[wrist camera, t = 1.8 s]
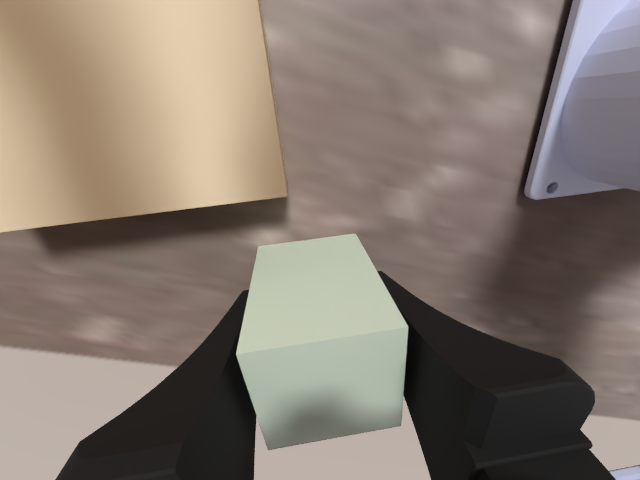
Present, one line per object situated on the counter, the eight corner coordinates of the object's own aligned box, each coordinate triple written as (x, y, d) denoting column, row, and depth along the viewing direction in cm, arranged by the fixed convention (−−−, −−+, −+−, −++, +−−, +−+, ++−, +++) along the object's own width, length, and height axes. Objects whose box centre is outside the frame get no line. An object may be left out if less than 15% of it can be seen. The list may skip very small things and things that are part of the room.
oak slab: (252, -54, 8) (241, -104, 6) (287, 182, 11) (287, 196, 9) (-119, -29, 7) (-254, -75, 5) (31, 213, 10) (-23, 235, 8)
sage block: (355, 233, 12) (408, 326, 7) (358, 308, 14) (401, 426, 9) (258, 246, 12) (236, 354, 7) (275, 320, 14) (268, 449, 9)
